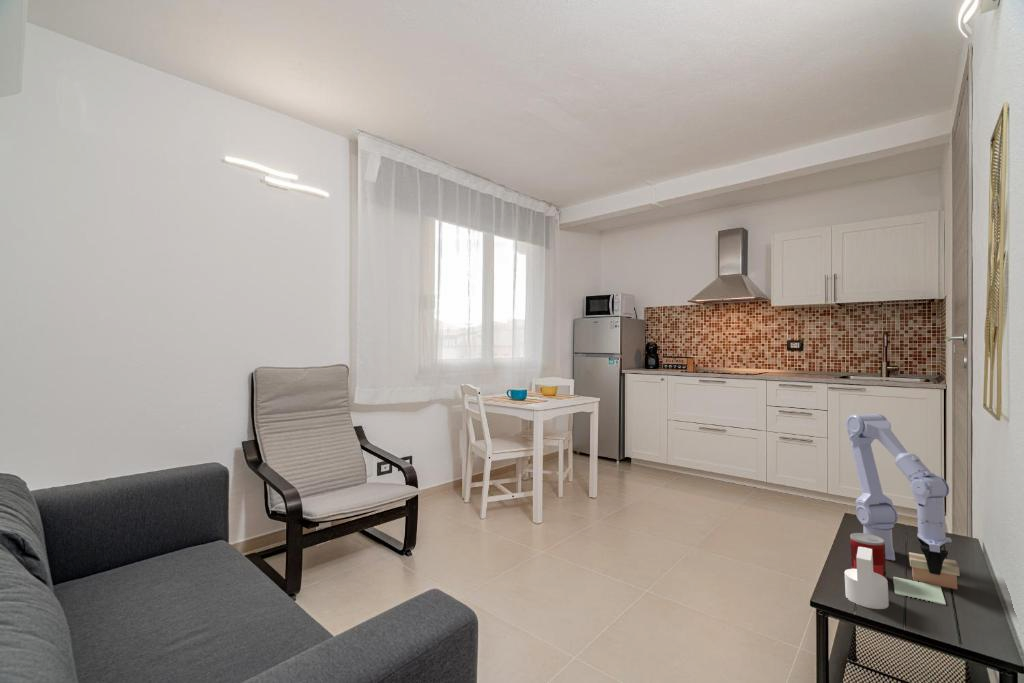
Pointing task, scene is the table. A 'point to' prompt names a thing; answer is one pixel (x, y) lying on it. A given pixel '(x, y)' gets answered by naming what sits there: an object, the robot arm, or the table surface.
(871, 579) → the cylinder with rectangular tab
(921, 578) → the brown and cream block
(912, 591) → the mat
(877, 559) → the canned food
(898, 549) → the table surface
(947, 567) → the beige block
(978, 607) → the table surface
